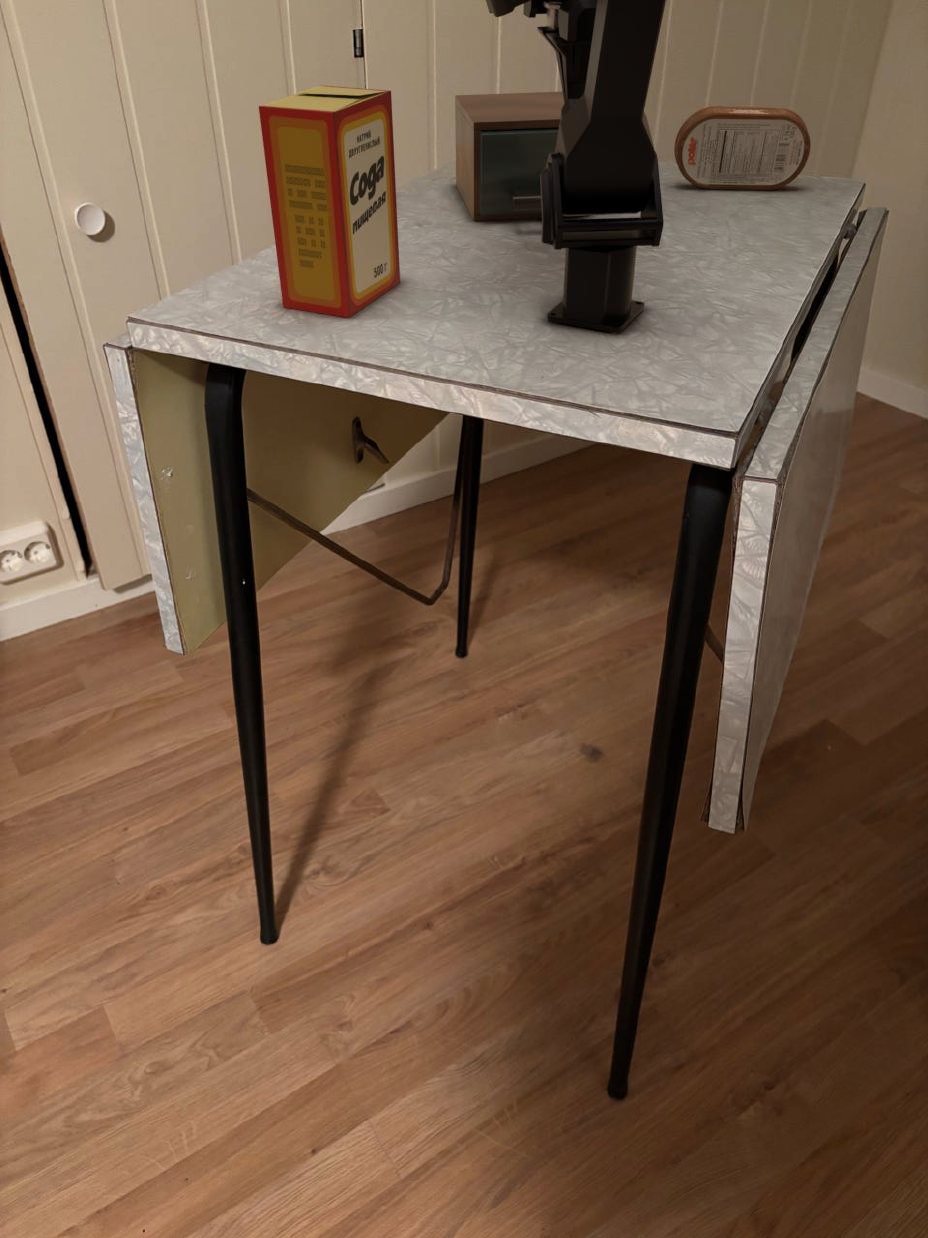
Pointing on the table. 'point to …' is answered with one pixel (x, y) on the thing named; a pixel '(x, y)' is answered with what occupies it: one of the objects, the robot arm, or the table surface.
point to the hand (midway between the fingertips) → (573, 120)
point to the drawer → (513, 169)
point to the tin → (742, 147)
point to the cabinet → (496, 115)
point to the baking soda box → (332, 197)
